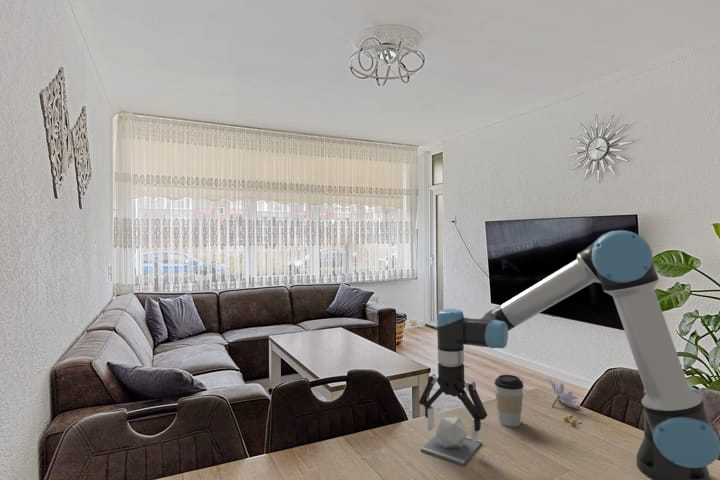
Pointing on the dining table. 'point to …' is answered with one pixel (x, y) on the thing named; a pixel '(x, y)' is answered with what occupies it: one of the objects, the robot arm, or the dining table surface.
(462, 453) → the coaster
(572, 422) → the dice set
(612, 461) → the dining table surface
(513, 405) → the coffee cup
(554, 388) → the water lily
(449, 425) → the die
